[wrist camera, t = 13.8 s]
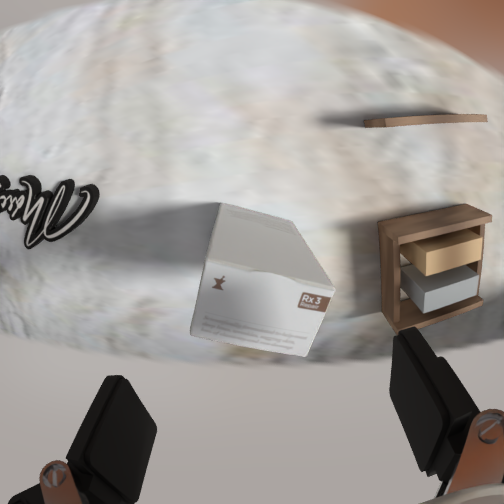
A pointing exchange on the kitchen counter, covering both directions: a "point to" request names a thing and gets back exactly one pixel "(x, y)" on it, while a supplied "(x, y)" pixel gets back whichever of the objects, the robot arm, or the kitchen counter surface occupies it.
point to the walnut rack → (421, 228)
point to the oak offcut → (443, 251)
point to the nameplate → (45, 208)
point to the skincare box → (260, 285)
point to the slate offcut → (438, 286)
